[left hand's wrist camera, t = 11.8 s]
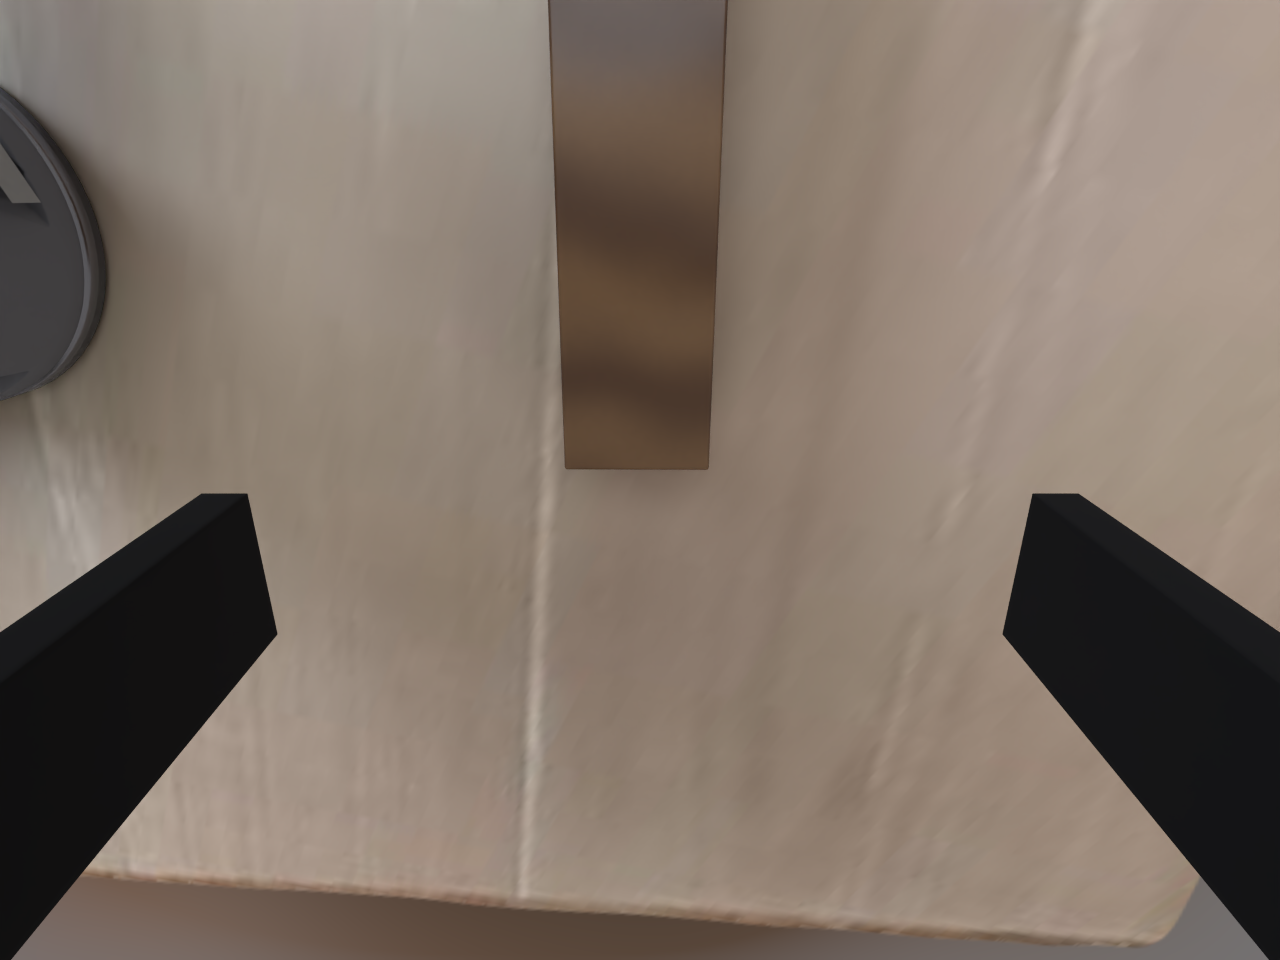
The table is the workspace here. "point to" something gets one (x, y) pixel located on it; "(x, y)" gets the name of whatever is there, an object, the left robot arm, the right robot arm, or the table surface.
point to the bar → (637, 225)
